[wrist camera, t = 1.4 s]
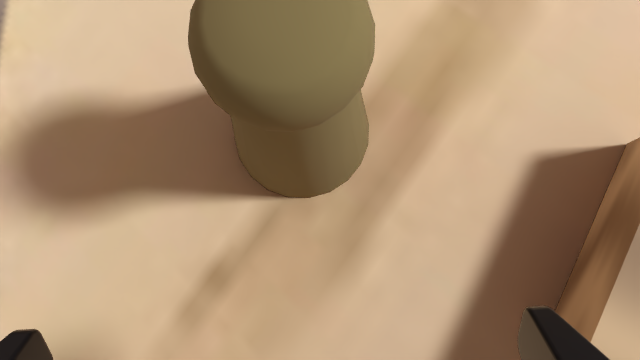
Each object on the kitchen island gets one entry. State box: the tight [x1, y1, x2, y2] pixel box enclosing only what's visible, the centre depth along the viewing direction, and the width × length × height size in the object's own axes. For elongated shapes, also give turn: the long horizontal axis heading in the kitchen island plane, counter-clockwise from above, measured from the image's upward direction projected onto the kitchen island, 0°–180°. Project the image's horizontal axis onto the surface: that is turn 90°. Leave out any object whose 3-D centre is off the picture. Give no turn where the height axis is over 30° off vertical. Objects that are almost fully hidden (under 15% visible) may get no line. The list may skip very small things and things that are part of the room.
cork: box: [188, 0, 375, 198], centre depth 19 cm, size 6×6×11 cm
